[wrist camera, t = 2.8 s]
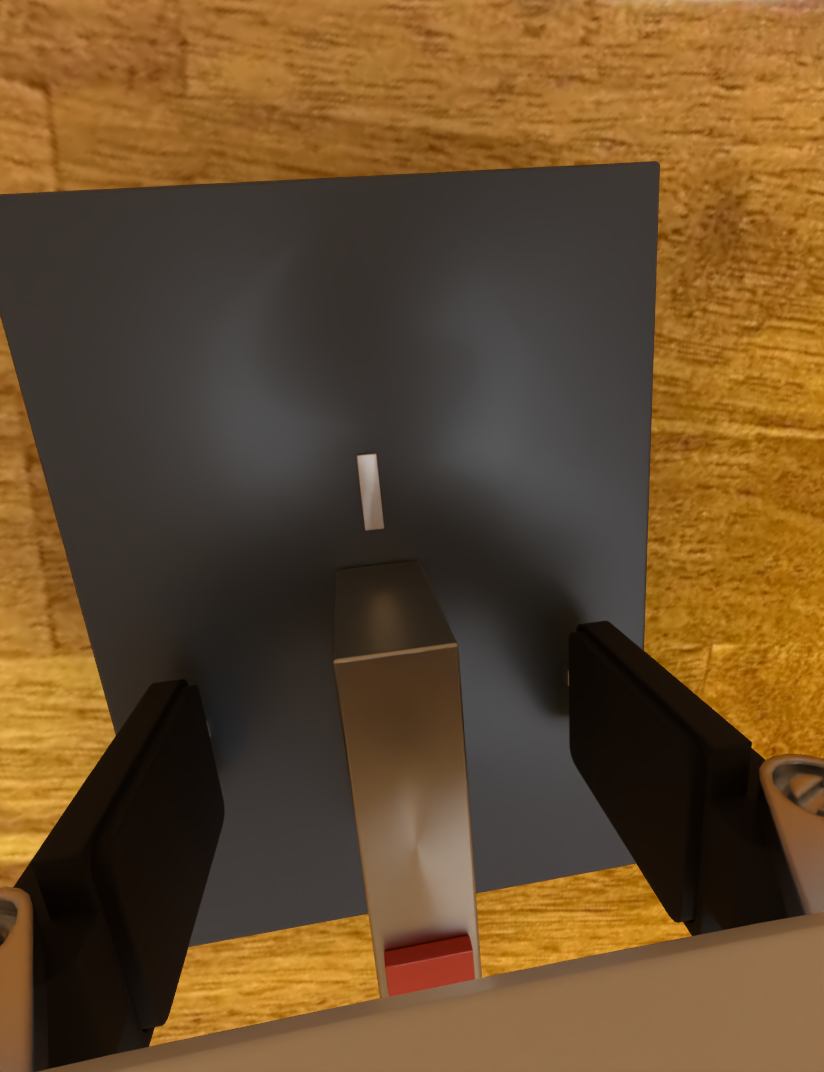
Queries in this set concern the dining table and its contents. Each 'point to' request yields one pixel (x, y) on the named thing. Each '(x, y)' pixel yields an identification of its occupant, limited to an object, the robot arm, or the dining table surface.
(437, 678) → the gray slab
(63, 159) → the dining table surface
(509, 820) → the rotary switch block
